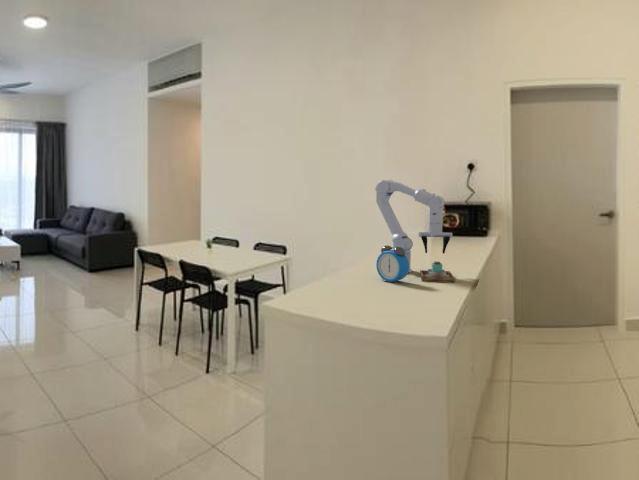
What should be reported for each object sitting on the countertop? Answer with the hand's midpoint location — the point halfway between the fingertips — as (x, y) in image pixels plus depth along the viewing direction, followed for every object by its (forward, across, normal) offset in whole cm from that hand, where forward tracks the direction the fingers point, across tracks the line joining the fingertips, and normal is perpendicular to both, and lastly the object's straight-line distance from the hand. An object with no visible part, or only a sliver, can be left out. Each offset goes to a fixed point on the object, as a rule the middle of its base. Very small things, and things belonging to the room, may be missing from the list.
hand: (434, 252), depth 205 cm
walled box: (+10, 0, -9) cm, 13 cm away
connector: (+9, 0, -11) cm, 14 cm away
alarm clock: (+10, -19, -17) cm, 27 cm away
